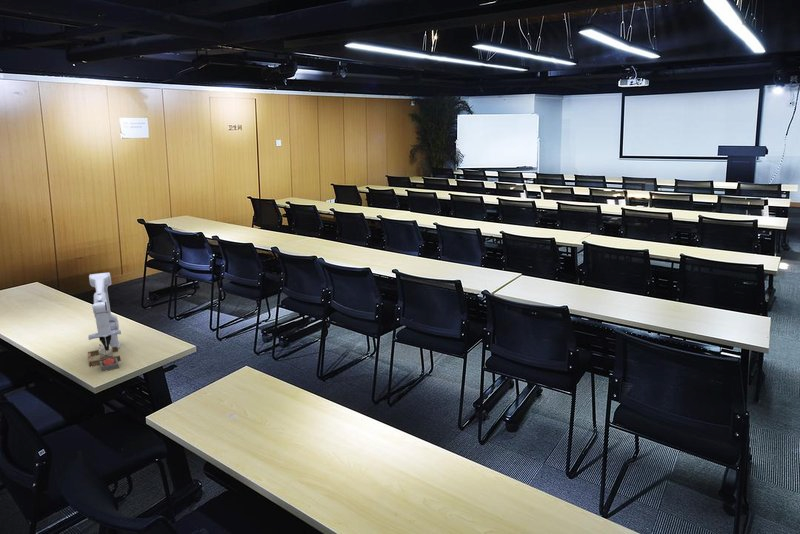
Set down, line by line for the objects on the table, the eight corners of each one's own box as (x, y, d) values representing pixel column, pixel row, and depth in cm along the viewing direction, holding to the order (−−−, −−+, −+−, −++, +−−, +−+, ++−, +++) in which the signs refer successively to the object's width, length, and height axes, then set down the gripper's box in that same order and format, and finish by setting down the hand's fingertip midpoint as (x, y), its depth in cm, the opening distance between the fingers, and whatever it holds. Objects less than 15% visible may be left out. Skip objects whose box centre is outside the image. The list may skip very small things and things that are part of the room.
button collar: (100, 365, 281) (99, 361, 281) (117, 362, 285) (117, 357, 285) (101, 371, 275) (100, 367, 274) (119, 367, 279) (118, 363, 278)
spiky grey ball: (109, 365, 290) (107, 356, 283) (94, 360, 289) (91, 350, 282) (119, 352, 296) (117, 342, 289) (103, 346, 295) (101, 336, 288)
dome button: (103, 365, 281) (102, 357, 279) (114, 363, 283) (113, 355, 282) (104, 368, 276) (103, 361, 275) (115, 366, 279) (114, 359, 278)
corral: (88, 356, 293) (87, 351, 292) (117, 350, 300) (117, 346, 299) (89, 366, 280) (89, 362, 279) (120, 360, 287) (119, 356, 286)
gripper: (87, 330, 267) (91, 355, 271) (120, 324, 274) (123, 349, 278) (86, 325, 273) (90, 350, 276) (118, 320, 280) (122, 344, 284)
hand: (107, 349), depth 278 cm, fingers closed
